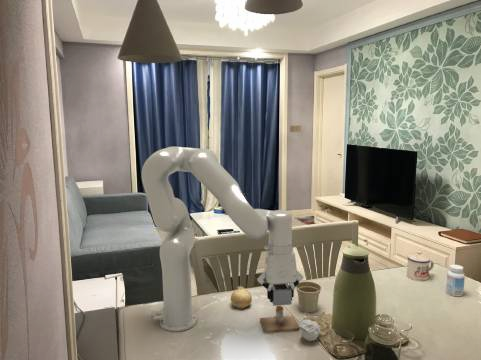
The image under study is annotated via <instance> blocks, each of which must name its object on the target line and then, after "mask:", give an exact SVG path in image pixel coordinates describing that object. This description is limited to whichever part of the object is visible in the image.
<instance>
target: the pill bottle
mask: <svg viewBox="0 0 481 360" xmlns="http://www.w3.org/2000/svg"><path fill="white" fill-rule="evenodd" d="M465 276H466V275H465V273H464V266H462V265H459V264H450V265H449V270H448V272H447V273H446V288H445V291H446V293H447V294H448V295H449V296H453V297H462V296H463V295H464V290H465Z"/></svg>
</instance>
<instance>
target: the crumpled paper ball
mask: <svg viewBox="0 0 481 360" xmlns="http://www.w3.org/2000/svg"><path fill="white" fill-rule="evenodd" d="M299 327H300V332H301V334H302V336H303V337H302V338H304V339H305V340H306V341H308V342H314V341H316V340H317V339H318V336H319V335H320V332H321V328H320V325H319V323H317V322H316V321H313V320H311V319H310V318H308V319H303V320H302V322H301V324H299Z"/></svg>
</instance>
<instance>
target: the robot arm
mask: <svg viewBox="0 0 481 360" xmlns="http://www.w3.org/2000/svg"><path fill="white" fill-rule="evenodd" d="M176 172H184V173H185V172H186V173H191V174H192V176H194V177H195V178H196V179H197V180H198V181H199V183H201V184H202V185H203V186H204V187H205V189H207V191H208V192H209V193H210V194H211V195H212V196H213V197H214V198H215V199H216V200H217V201H218V203H219V205H220V206H221V208H222V209H223V210H224V212H225V213H226V214H227V216H228V218H229V219H231V221H232V222H233V223H234V224H235V226H237V227H238V228H239V229H240V231H241V232H243V233H244V234H245V235H246V236H247V237H248V238H251V239H253V240H259V239H260V240H261V239H262V238H264V237H265V236H266V235H267V233H268V242H267V243H268V244H267V245H264V250H266V251H267V252H266V257H265V264H264V271H263V272H262V273H261V274H260V275H259V276H258V278H257V279H256V280H257V282H258V284H260V285H262V286H263V287H264V288H265V289H266V293H267V300H269V302H270V303H272V302H273V292H272V286H273V284H285V283H288V285H289V287H290V288H291V290H292V298H294V296H295V292H294V291H295V289H296V286H297V285H298V284H299V282H302V281H303V279H304V276H303V274H301V273H300V271H298V269H297V260H296V254H295V252H294V251H293V216H292V215H293V214H292V213H291V212H290V211H288V210H283V209H276V210H269V209H263V208H254V207H252V205H251V204H250V203H249V201H247V199H246V198H245V196H244V194H243V192H242V189H241V188H240V185H239V184H238V182H237V180H236V179H235V178H234V177H233V176H232V175H231V174H230V173H229V172H228V171H227V170H226V169H225V168H224V166H222V165H221V163H220V162H219V160H218V157H217V154H216V153H215V152H214V151H213V150H212V149H208V148H197V147H195V148H194V147H185V146H184V147H183V146H168V147H166V148H162V149H159V150H156V151H155V152H153V153H152V154H151V155H149V157H147V159H146V160H145V162H144V164H143V166H142V168H141V181H142V185H143V188H144V192H145V194H146V200H147V203H148V206H149V209H150V212H151V216H152V220H153V223H154V225H155V227H156V228H157V229H158V230H160V231H162V232H164V233H166V234H167V235H166V236H165V237H164V239H163V240H162V242H161V244H160V246H159V247H160V248H159V258H160V259H159V260H160V263H161V270H162V271H161V272H162V277H161V278H162V292H163V293H162V295H163V297H162V298H163V308H162V309H160V310H153V311H150V318H153V320H154V321H158V320H159V325H160V327H161V328H162V329H164V330H166V331H169V332H181V331H186V330H189V329H192V328H193V327H194V326H195V325H196V323H197V322H198V321H197V320H198V317H197V315H196V314H195V312H193V304H192V303H193V300H192V297H193V296H192V295H193V294H192V271H191V269H192V268H191V261H190V253H191V251H192V248H193V247H194V245H195V242H196V238H195V235H196V234H195V231H194V229H193V225H192V221H191V217H190V214H189V211H188V207H187V206H186V204H185V202H184V201H183V200H181V199H180V198H178V197H175V194H174V190H173V188H172V186H171V183H170V180H169V176H170V175H172V174H174V173H176ZM265 280H266V281H265Z"/></svg>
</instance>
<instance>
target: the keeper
mask: <svg viewBox="0 0 481 360" xmlns="http://www.w3.org/2000/svg"><path fill="white" fill-rule="evenodd" d="M259 321H260V325H261V328H262V331H263V334H273V333H284V332H287V333H288V332H299V331H300V332H301V330H300V324H299V323H298V321H297V320H296V317H295V315H285V316H284V307H283V305H279V306H275V316H273V317H271V316H270V317H260V318H259Z"/></svg>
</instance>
